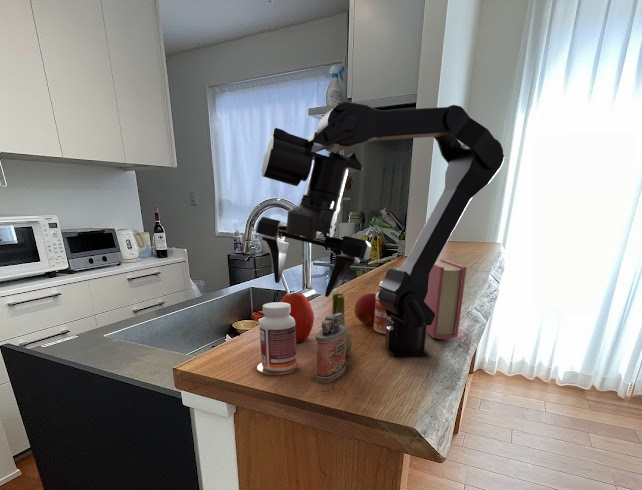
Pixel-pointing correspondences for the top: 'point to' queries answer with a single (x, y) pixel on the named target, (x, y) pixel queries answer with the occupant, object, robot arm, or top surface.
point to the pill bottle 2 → (380, 317)
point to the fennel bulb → (339, 308)
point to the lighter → (331, 349)
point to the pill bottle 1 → (277, 337)
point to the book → (445, 298)
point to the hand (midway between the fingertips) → (301, 289)
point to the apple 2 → (366, 308)
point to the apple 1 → (300, 314)
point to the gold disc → (267, 372)
